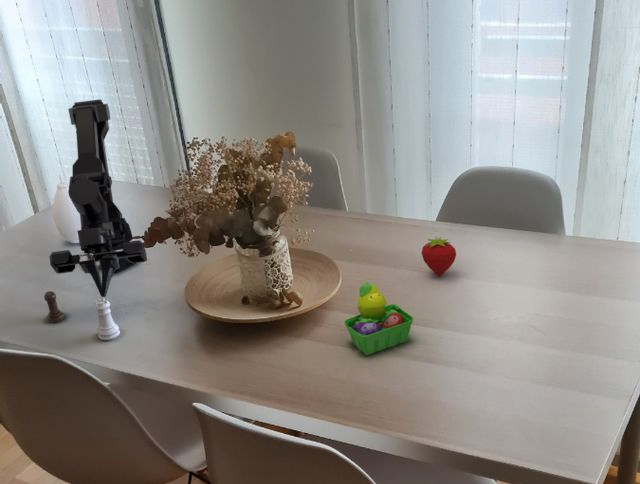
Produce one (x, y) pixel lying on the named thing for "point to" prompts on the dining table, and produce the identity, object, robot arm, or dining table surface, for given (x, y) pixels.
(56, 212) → the sauce bottle
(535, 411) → the dining table surface
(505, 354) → the dining table surface
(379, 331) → the fruit basket
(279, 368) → the dining table surface
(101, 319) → the rook chess piece
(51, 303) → the walnut pawn
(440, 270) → the strawberry
